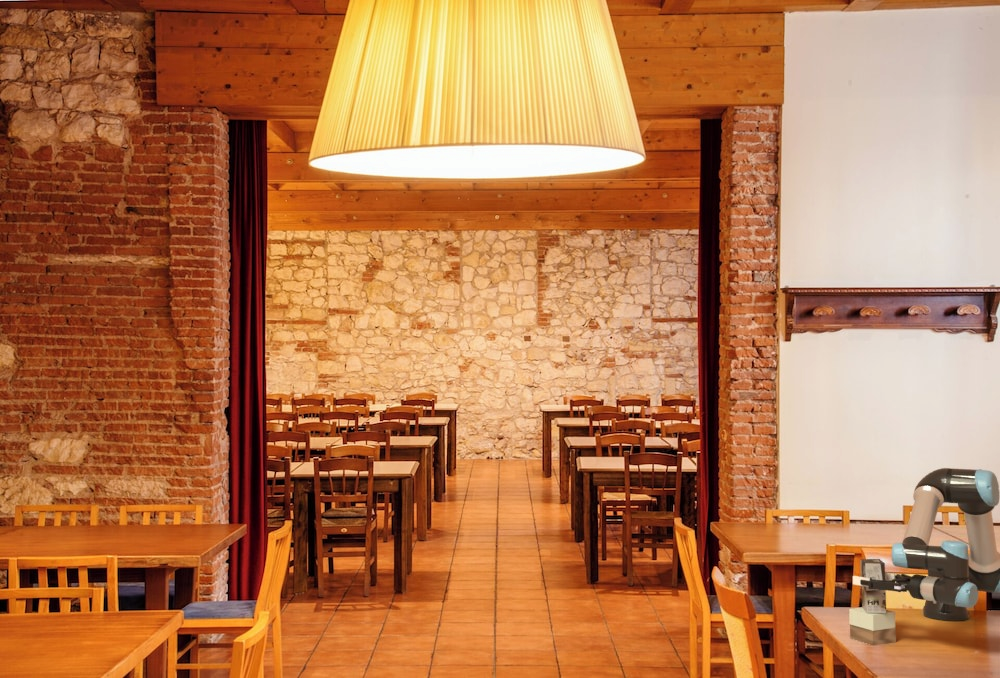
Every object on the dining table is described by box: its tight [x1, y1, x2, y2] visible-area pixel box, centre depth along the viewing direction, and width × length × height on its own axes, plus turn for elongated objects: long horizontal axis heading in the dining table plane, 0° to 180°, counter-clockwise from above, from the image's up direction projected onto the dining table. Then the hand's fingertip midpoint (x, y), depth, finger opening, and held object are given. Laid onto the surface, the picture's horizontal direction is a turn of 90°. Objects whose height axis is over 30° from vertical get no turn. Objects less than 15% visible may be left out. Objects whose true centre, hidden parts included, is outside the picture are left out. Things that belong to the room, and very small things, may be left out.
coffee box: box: [860, 558, 887, 613], centre depth 341 cm, size 9×6×16 cm
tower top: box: [848, 606, 896, 631], centre depth 340 cm, size 10×10×5 cm
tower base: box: [849, 624, 897, 646], centre depth 340 cm, size 10×10×5 cm
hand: (865, 577), depth 343 cm, fingers open, 13 cm apart
